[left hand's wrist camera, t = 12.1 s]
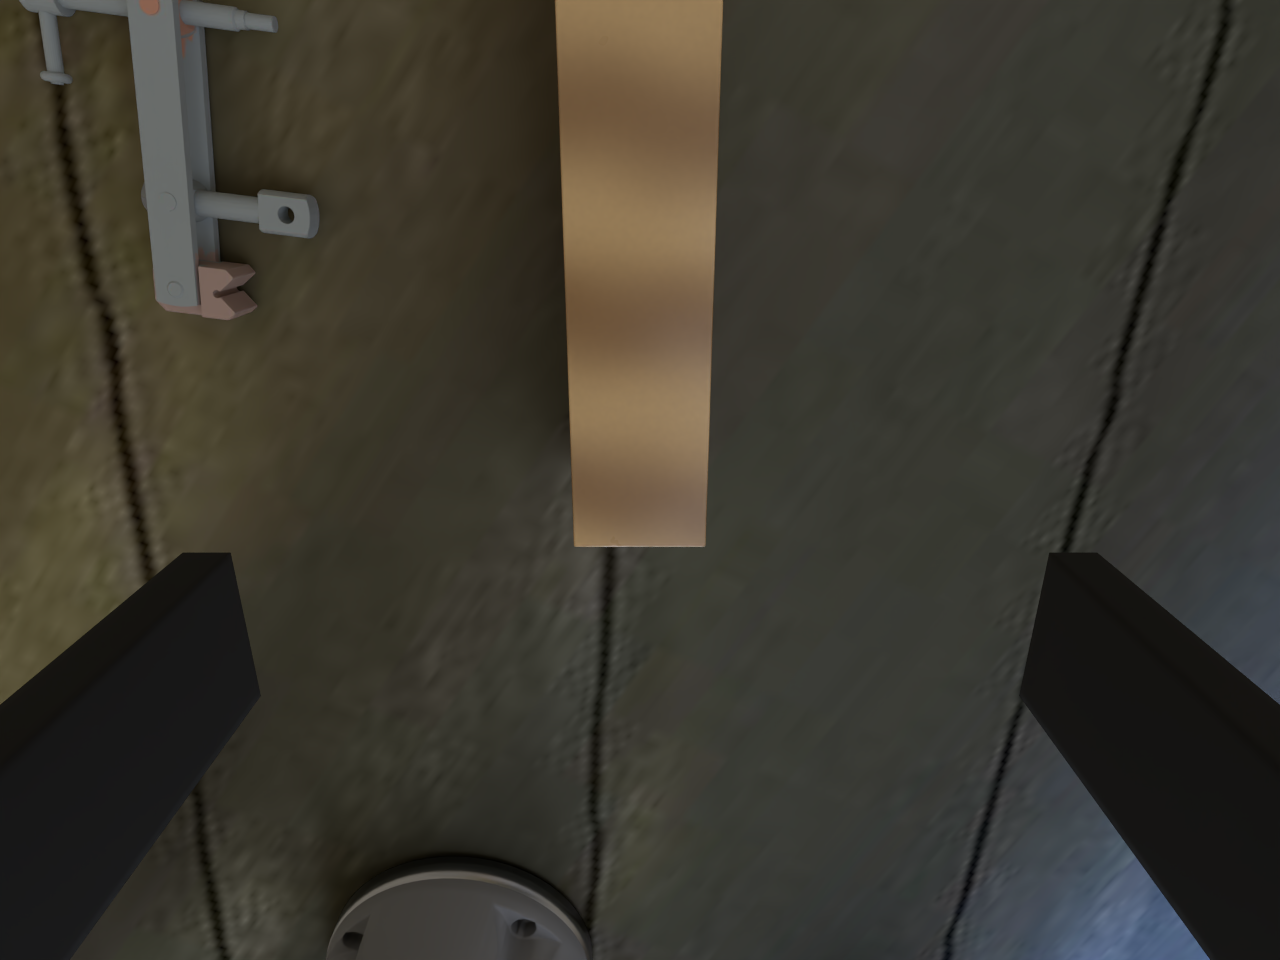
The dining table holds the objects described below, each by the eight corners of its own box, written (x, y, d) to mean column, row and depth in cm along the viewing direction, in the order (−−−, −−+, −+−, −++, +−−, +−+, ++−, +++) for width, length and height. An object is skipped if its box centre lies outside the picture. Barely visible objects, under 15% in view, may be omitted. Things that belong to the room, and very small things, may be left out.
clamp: (307, 330, 31) (48, 299, 31) (327, 320, 33) (85, 291, 33) (292, -128, 26) (-23, -173, 25) (318, -105, 28) (27, -147, 27)
